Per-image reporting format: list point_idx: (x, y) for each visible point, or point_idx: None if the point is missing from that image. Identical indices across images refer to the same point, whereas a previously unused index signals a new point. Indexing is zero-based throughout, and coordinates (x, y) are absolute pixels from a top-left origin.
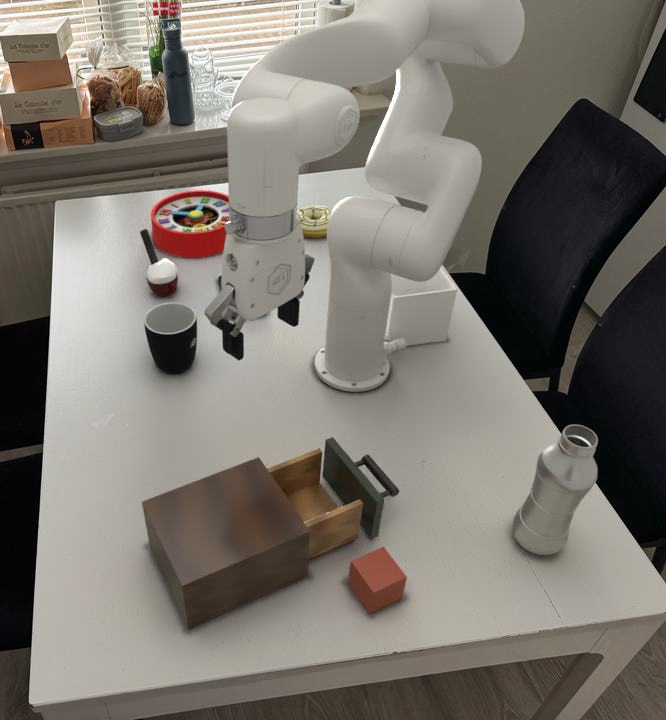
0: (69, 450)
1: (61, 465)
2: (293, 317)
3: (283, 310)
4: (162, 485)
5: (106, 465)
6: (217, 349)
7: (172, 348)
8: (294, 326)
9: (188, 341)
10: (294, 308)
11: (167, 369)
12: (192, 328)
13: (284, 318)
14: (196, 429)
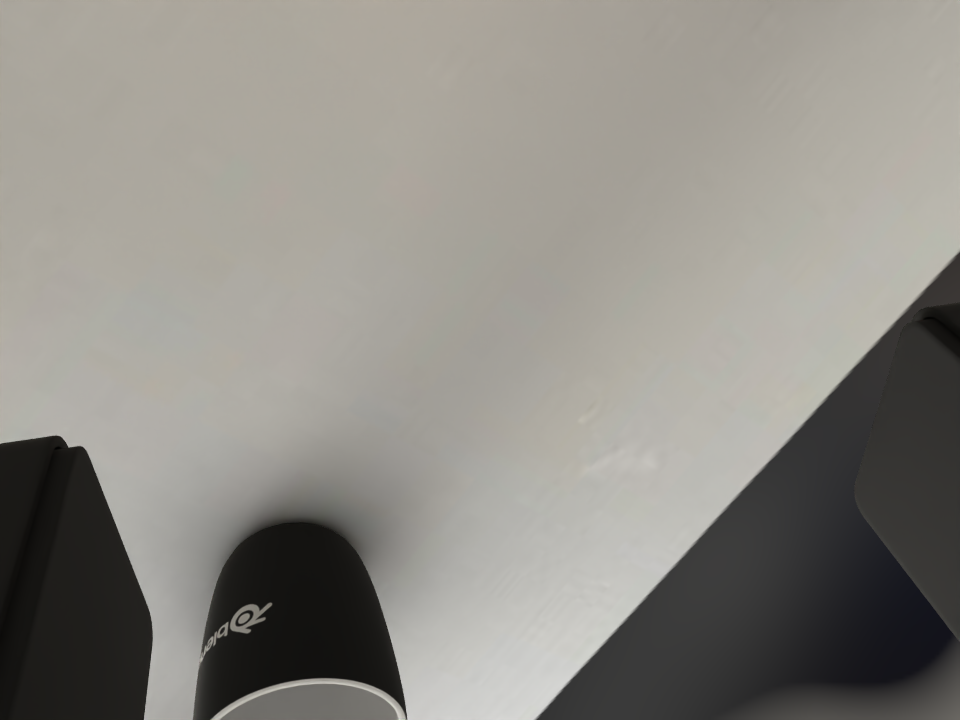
0: (761, 415)
1: (813, 380)
2: (57, 558)
3: (110, 699)
4: (677, 146)
5: (734, 316)
6: None
7: (348, 620)
8: (62, 442)
9: (280, 628)
10: (17, 703)
11: (351, 551)
12: (252, 678)
13: (118, 589)
14: (421, 291)
